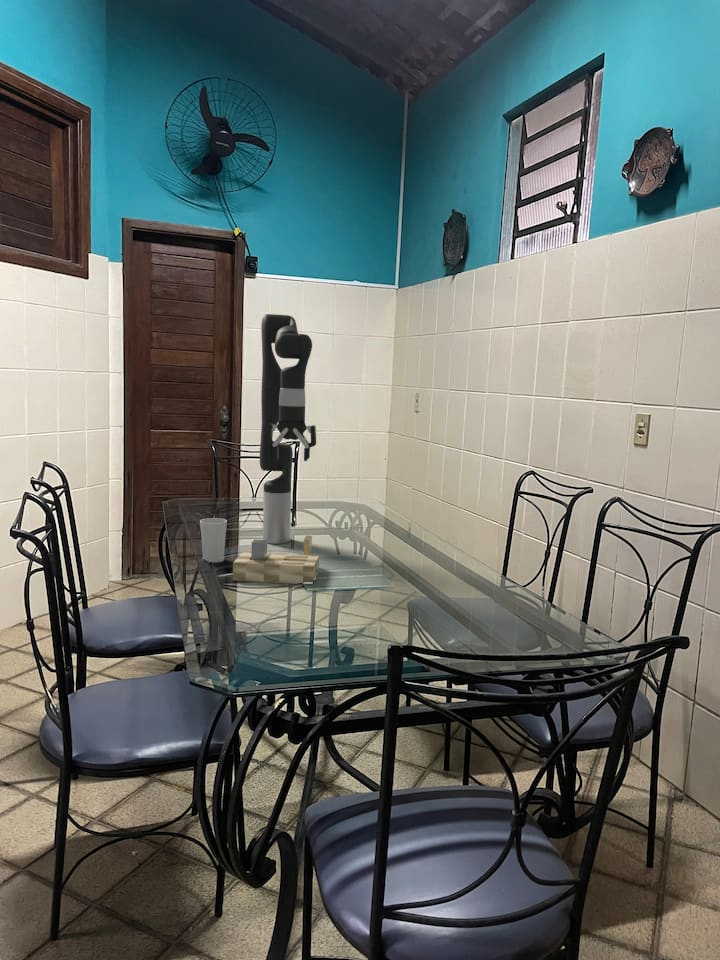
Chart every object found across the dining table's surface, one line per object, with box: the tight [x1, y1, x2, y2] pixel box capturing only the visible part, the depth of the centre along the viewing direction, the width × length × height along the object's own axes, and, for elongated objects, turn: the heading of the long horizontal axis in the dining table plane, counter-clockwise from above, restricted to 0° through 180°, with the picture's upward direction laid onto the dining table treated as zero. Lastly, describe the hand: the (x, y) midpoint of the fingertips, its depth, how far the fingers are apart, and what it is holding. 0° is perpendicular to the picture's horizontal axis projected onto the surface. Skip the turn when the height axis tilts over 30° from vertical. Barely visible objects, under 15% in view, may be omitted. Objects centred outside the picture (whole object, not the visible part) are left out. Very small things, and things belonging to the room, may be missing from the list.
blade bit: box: [303, 535, 313, 555], centre depth 203 cm, size 5×2×9 cm, turn 176°
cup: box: [199, 517, 228, 564], centre depth 208 cm, size 8×8×12 cm
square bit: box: [251, 538, 268, 561], centre depth 193 cm, size 4×4×10 cm
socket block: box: [232, 551, 320, 585], centre depth 193 cm, size 12×22×5 cm, turn 86°
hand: (291, 460), depth 202 cm, fingers open, 8 cm apart
